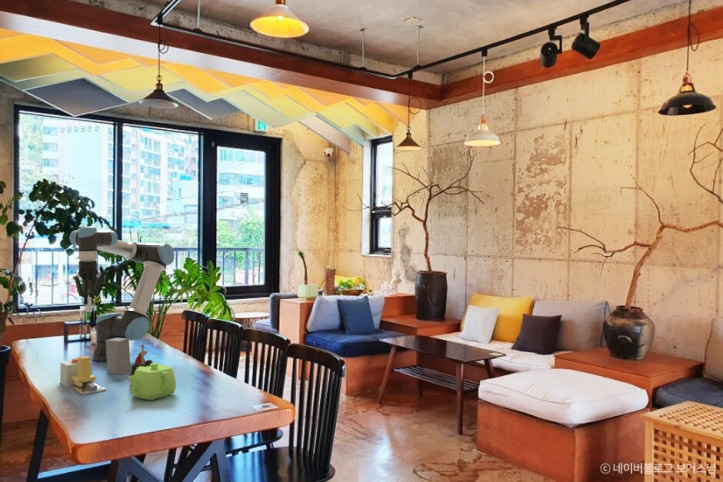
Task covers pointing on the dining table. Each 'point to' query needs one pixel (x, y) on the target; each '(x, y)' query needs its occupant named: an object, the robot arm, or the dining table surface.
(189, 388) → the dining table surface
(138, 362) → the red brown figurine
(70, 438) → the dining table surface
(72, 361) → the button
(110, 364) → the skincare box
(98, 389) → the rail base
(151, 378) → the teapot
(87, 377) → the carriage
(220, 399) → the dining table surface
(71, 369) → the cabinet
